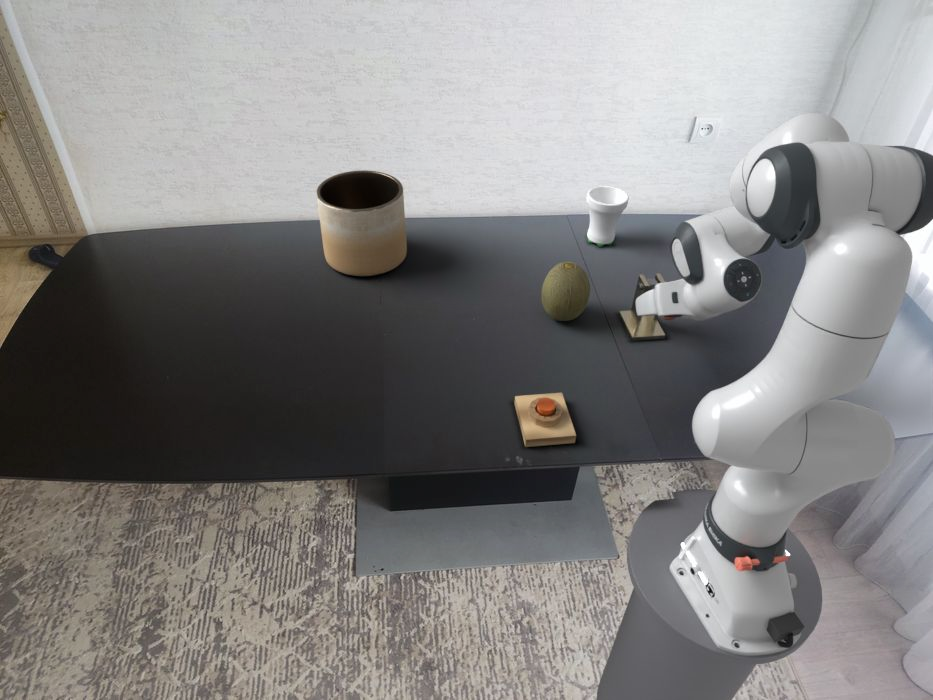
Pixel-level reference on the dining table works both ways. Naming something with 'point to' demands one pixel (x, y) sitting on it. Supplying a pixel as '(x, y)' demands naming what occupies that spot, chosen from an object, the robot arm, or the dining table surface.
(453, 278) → the dining table surface
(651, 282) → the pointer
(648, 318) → the lever bracket
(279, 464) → the dining table surface
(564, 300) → the fruit
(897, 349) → the dining table surface
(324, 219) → the planter
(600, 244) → the cup
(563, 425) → the button block
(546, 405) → the button
